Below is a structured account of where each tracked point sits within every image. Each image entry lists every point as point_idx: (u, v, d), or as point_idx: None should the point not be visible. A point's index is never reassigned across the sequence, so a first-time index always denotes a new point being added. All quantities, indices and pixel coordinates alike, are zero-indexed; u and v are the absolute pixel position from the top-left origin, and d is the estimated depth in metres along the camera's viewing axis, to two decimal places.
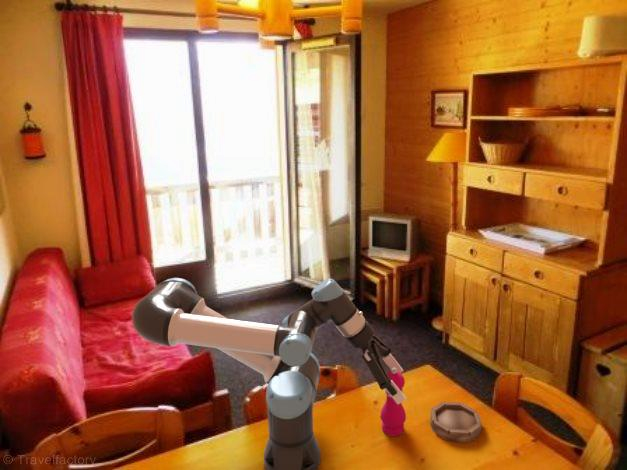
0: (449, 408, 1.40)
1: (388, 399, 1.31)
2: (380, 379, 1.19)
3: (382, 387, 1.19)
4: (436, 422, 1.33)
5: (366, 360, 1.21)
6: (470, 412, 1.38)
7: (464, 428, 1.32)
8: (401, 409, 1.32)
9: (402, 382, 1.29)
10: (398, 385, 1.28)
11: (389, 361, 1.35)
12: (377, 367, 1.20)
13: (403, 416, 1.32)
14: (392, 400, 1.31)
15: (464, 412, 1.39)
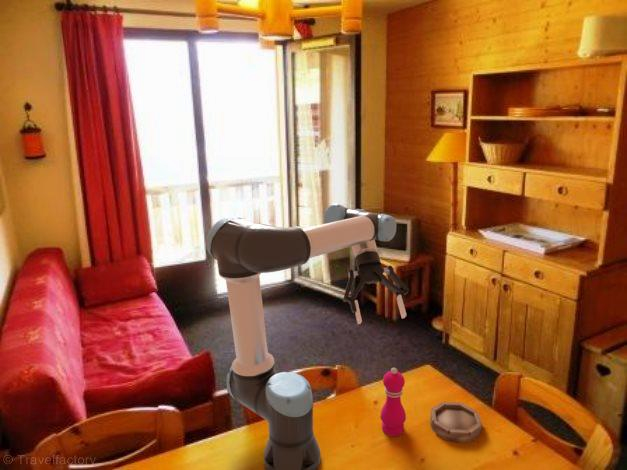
0: (449, 408, 1.40)
1: (388, 399, 1.31)
2: None
3: None
4: (436, 422, 1.33)
5: None
6: (470, 412, 1.38)
7: (464, 428, 1.32)
8: (401, 409, 1.32)
9: (402, 382, 1.29)
10: (398, 385, 1.28)
11: None
12: None
13: (403, 416, 1.32)
14: (392, 400, 1.31)
15: (464, 412, 1.39)
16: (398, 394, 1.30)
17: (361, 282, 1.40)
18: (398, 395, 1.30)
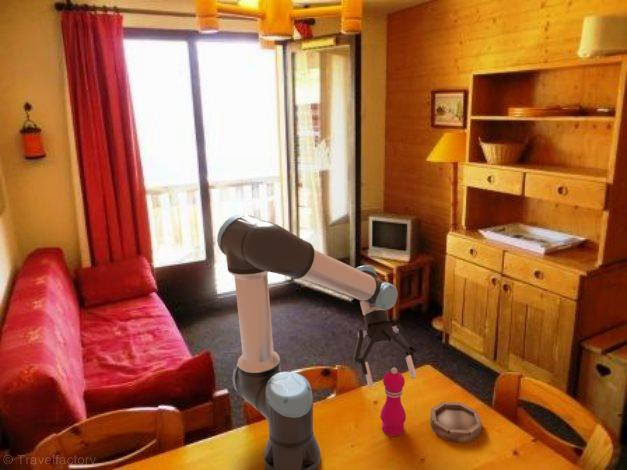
0: (449, 408, 1.40)
1: (388, 399, 1.31)
2: None
3: None
4: (436, 422, 1.33)
5: None
6: (470, 412, 1.38)
7: (464, 428, 1.32)
8: (401, 409, 1.32)
9: (402, 382, 1.29)
10: (398, 385, 1.28)
11: None
12: None
13: (403, 416, 1.32)
14: (392, 400, 1.31)
15: (464, 412, 1.39)
16: (398, 394, 1.30)
17: (371, 342, 1.40)
18: (398, 395, 1.30)
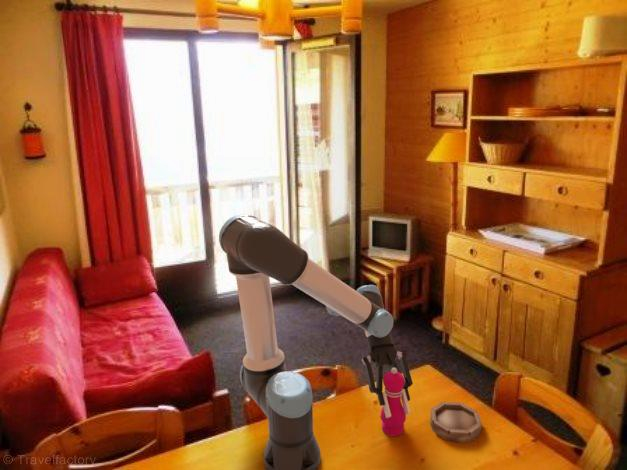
0: (449, 408, 1.40)
1: (388, 399, 1.31)
2: None
3: None
4: (436, 422, 1.33)
5: None
6: (470, 412, 1.38)
7: (464, 428, 1.32)
8: (401, 409, 1.32)
9: (402, 382, 1.29)
10: (398, 385, 1.28)
11: None
12: None
13: (403, 416, 1.32)
14: (392, 400, 1.31)
15: (464, 412, 1.39)
16: (398, 394, 1.30)
17: (380, 368, 1.35)
18: (398, 395, 1.30)
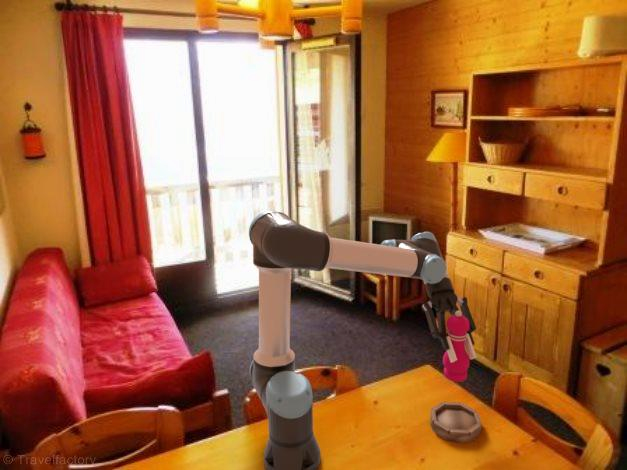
0: (449, 408, 1.40)
1: (452, 343, 1.28)
2: None
3: None
4: (436, 422, 1.33)
5: None
6: (470, 412, 1.38)
7: (464, 428, 1.32)
8: (465, 354, 1.28)
9: (467, 325, 1.25)
10: (463, 327, 1.25)
11: None
12: None
13: (467, 361, 1.28)
14: (456, 344, 1.27)
15: (464, 412, 1.39)
16: (463, 337, 1.26)
17: (442, 313, 1.31)
18: (463, 338, 1.26)
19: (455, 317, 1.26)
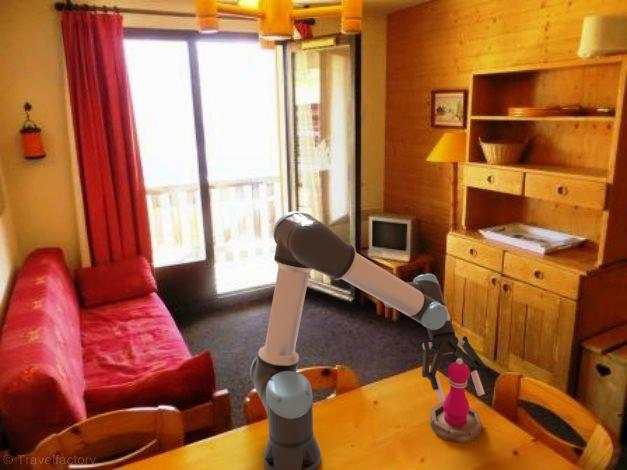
0: None
1: (453, 390, 1.31)
2: None
3: None
4: (436, 422, 1.33)
5: None
6: (470, 412, 1.38)
7: (464, 428, 1.32)
8: (465, 400, 1.32)
9: (468, 373, 1.29)
10: (464, 375, 1.28)
11: None
12: None
13: (467, 407, 1.32)
14: (457, 391, 1.31)
15: None
16: (463, 385, 1.30)
17: (438, 355, 1.34)
18: (463, 386, 1.30)
19: (456, 365, 1.30)
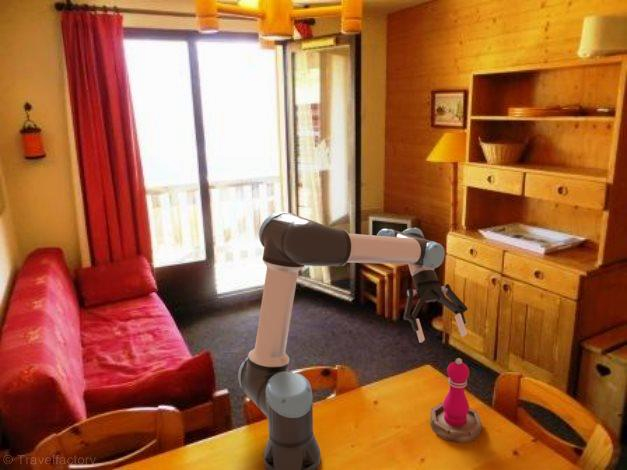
0: None
1: (452, 390, 1.31)
2: None
3: None
4: (436, 422, 1.33)
5: None
6: (470, 412, 1.38)
7: (464, 428, 1.32)
8: (465, 400, 1.32)
9: (467, 372, 1.29)
10: (463, 375, 1.28)
11: None
12: None
13: (467, 407, 1.32)
14: (457, 391, 1.31)
15: None
16: (463, 384, 1.30)
17: (421, 301, 1.42)
18: (463, 385, 1.30)
19: (455, 364, 1.30)
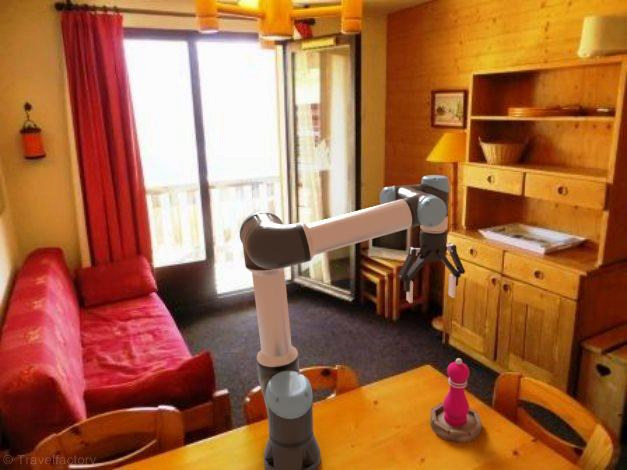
0: None
1: (452, 390, 1.31)
2: None
3: None
4: (436, 422, 1.33)
5: None
6: (470, 412, 1.38)
7: (464, 428, 1.32)
8: (465, 400, 1.32)
9: (467, 373, 1.29)
10: (463, 375, 1.28)
11: None
12: None
13: (467, 407, 1.32)
14: (457, 391, 1.31)
15: None
16: (463, 385, 1.30)
17: (421, 263, 1.34)
18: (463, 386, 1.30)
19: (455, 365, 1.30)
